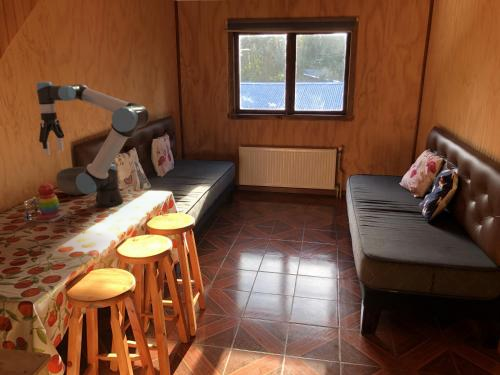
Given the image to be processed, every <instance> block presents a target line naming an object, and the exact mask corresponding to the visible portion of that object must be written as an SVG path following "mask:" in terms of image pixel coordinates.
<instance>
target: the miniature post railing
mask: <svg viewBox="0 0 500 375" xmlns="http://www.w3.org/2000/svg"><path fill="white" fill-rule="evenodd" d="M36 199H37V197H36V196H32V198H29V199H27V200H24V201H23V204H24V205H23V206H24V209H25V210H24V211H25V214H24V215H23V218H24V219H23V221H24V222H31V221H32V220H33V217H32V214H39V213H41V211H40V209H38V207H37V200H36ZM32 201H33V205H34V210H33V211H32V214H31V213H29V210H28V209H29V208H28V206H29V205H28V203H30V202H32Z"/></svg>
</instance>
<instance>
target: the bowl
mask: <svg viewBox="0 0 500 375" xmlns="http://www.w3.org/2000/svg"><path fill="white" fill-rule="evenodd" d="M86 167H87V166H86ZM86 167H85V166H73V167H67V168H63V169H60V170H58V171H57V174H56V184H57V186H58V187H59V189H60V191H62V192H63V193H64V194H67V195H69V196H82V195H84V193H82V192H81V191H80V190H79V189H78V187H77V184H76V178H77V176H78V175H79V174H81V173H83V172H84V171H85V169H86Z"/></svg>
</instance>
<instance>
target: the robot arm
mask: <svg viewBox="0 0 500 375" xmlns="http://www.w3.org/2000/svg"><path fill="white" fill-rule="evenodd" d="M35 85H36V94H37V99H38V107H39V112H40V119H41V120H42V121H43V122H40V125H39V126H40V129H39V137H38V138H39V139H38V142H39V143H42V149H43V154H44V156H50V155H51V153H50V145H49V142H48V140H49V135H50V133H51V132H53V133H54V135H55V136H56V143H57V149H58V150H57V151H64V145H63V138H65V133H64V131H63V128H62V126H61V124H60V120H59V119H58V115H57V112H56V111H57V108H56V101H58V102H59V101H61V102H62V101H63V102H64V101H65V102H69V101H73V100H79V101H82V102H84V103H87V104H90V105H92V106H94V107H98V108H100V109H103V110H105V111H108V112H112V115H111V124H110V128H111V131H110V132H109V134H108V136H107V137H106V139H105V141H104V142H103V144H102V146H101V147H100V150H99V151H98V153H97V155H96V156H95V158H94V160H93V161H92V163H89V164H87V166H86V169H85V171H84V172H83V173H81V174H79V175H78V176H77V178H76V184H77V187H78V189H79V190H80V191H81V192H82V193H84V194H85V195H93V194H95V193H96V195H95V200H94V204H95V206H96V207H100V208H111V207H116V206H119V205H120V206H121V205H122V204H123V203H124V198H123V195H122V193H121V192H120V189H119V188H120V186H119V180H118V178H119V177H118V170H117V165H116V164H114V161H115V160H116V158H117V157H118V155H119V153H120V151H121V150H122V148H123V147H124V145H125V143H126V141H127V140H128V139H129V138H132V137H133V136H134V134H135V133H136V131H137V129H139V128H140V129H141V128H143V127H145V126H146V125H147V124H148V123H149V120H150V112H149V110H148V108H146V106H144V105H142V104H140V103H136V102H133V101H129V102H127V101H125V100H121V99H120V98H116V97H113V96H111V95H107V94H105V93H103V92H100V91H97V90H94V89H91V88H90V87H88V86H87V85H86V84H81V83H80V84H68V85H66V84H65V85H53V83H52V82H51V81H38V82H36V84H35ZM84 194H83V195H84Z"/></svg>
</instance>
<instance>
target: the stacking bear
mask: <svg viewBox="0 0 500 375" xmlns="http://www.w3.org/2000/svg"><path fill="white" fill-rule="evenodd" d="M54 190H55V187H54V186H53V184H52V183H51V182H49V181H48V182H45V183H42V184H41V185H40V186H39V188H38V189H37V192H38V193H39V194H40V196H39V199H38V208H39V210H40V214H37V216H36V217H35V218H36V219H37V220H47V219H54V218H57V217H59V216H60V213H61V212H59V209H60V202H59V199H58V197H57V195H56V194H55V193H54Z"/></svg>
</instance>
